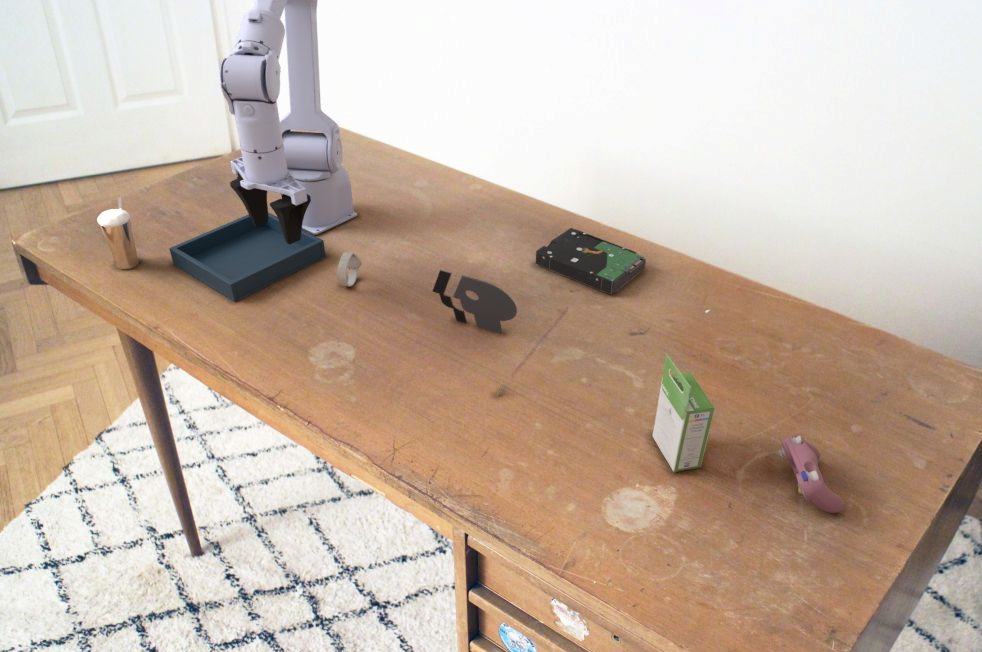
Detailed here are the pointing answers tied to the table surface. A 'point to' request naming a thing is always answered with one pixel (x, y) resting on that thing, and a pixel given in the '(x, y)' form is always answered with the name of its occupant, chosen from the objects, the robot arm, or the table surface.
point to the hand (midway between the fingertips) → (277, 232)
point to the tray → (245, 256)
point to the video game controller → (809, 474)
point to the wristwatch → (351, 262)
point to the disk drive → (590, 260)
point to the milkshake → (119, 236)
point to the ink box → (682, 419)
